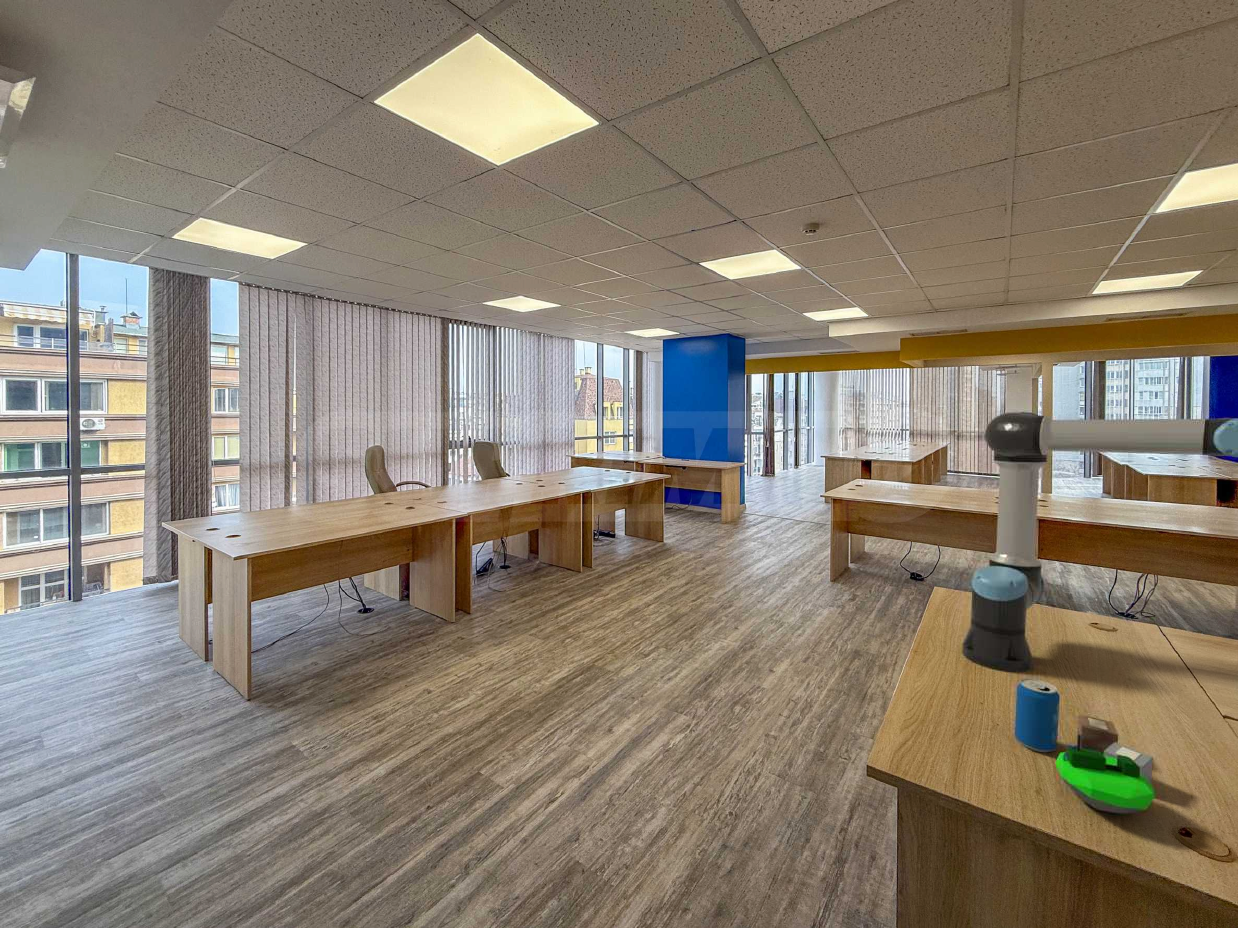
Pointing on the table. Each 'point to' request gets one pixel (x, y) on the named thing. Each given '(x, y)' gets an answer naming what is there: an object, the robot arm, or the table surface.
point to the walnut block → (1096, 733)
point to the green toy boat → (1105, 780)
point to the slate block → (1138, 757)
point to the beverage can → (1037, 715)
